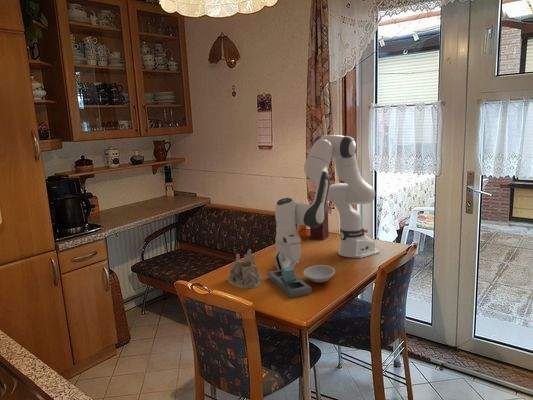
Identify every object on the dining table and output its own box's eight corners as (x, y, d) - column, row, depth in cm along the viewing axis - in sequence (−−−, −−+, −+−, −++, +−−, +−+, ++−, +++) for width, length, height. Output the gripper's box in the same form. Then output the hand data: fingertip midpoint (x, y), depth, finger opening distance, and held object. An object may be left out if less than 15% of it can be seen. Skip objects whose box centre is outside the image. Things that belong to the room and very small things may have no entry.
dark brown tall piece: (308, 239, 259) (307, 195, 253) (315, 235, 268) (314, 192, 263) (322, 241, 254) (321, 196, 249) (328, 236, 264) (327, 193, 259)
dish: (309, 273, 202) (308, 263, 201) (338, 276, 197) (338, 266, 196) (299, 287, 186) (298, 277, 185) (330, 290, 181) (330, 279, 180)
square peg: (282, 284, 190) (281, 268, 189) (291, 282, 192) (290, 266, 190) (286, 288, 186) (285, 271, 185) (295, 286, 188) (294, 269, 186)
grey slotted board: (287, 274, 202) (286, 268, 202) (311, 293, 178) (311, 287, 178) (268, 278, 199) (267, 272, 198) (290, 298, 175) (290, 291, 174)
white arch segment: (286, 271, 206) (279, 252, 206) (278, 273, 209) (271, 255, 208) (299, 261, 221) (293, 243, 221) (292, 263, 223) (285, 245, 223)
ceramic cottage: (230, 275, 204) (229, 247, 201) (263, 276, 202) (262, 247, 199) (223, 290, 189) (222, 259, 186) (259, 291, 187) (258, 260, 184)
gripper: (271, 230, 193) (272, 258, 196) (289, 241, 174) (290, 272, 177) (283, 228, 195) (285, 256, 198) (302, 239, 176) (304, 270, 179)
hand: (287, 264), depth 187 cm, fingers open, 8 cm apart
